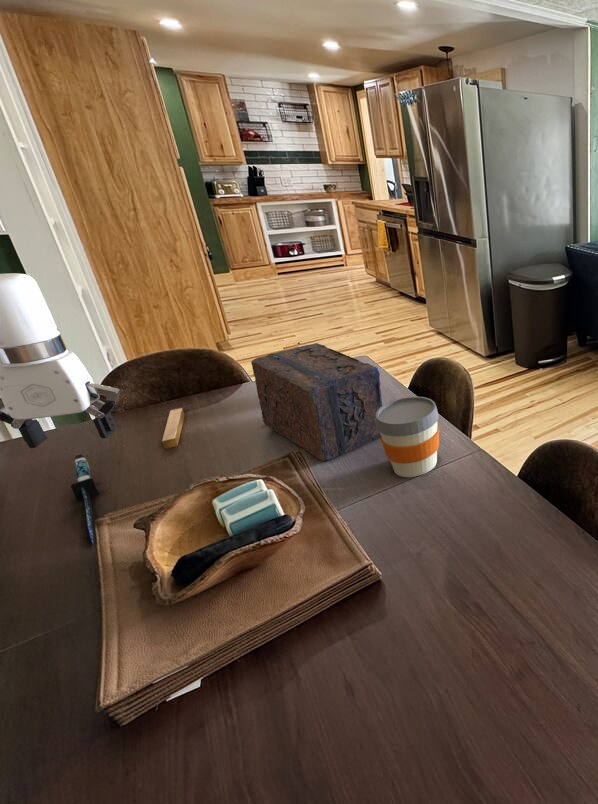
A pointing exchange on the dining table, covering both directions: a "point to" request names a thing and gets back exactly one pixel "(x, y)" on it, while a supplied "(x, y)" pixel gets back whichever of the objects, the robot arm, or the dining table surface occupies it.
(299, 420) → the decorative box
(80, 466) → the knife
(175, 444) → the tan wooden bar
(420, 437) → the reusable coffee cup
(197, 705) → the dining table surface
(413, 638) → the dining table surface
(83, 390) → the robot arm
